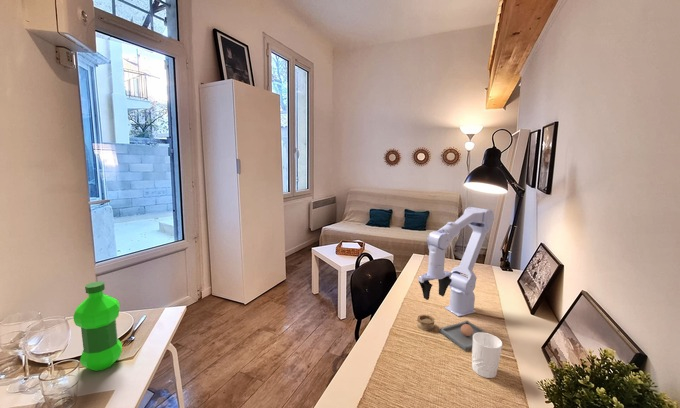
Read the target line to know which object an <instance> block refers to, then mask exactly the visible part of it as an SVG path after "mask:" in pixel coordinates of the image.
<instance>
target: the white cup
mask: <svg viewBox="0 0 680 408" xmlns="http://www.w3.org/2000/svg"><path fill="white" fill-rule="evenodd" d="M502 349H503V342H502V340H501V338H499V337H498V336H496V335H494V334H492V333H489V332H487V333H484V332H478V333H475V334H474V335H473V343H472V349H471V369H472V370H473V372H474V373H476V374H477V375H479V376H480V377H482V378H487V379H494V378H496V377H497V373H498V369H499V368H498V367H499V365H500V360H501V355H502Z"/></svg>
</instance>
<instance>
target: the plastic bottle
mask: <svg viewBox="0 0 680 408" xmlns="http://www.w3.org/2000/svg"><path fill="white" fill-rule="evenodd" d="M105 285H106V284H105V282H104V281H102V280H101V281H94V282H90V283H88V284H86V285H85V289H84V290H85V293H86V294H87V295H88V297H86V299H84V300H83V301H82V302H81V303H80V304H79V305H77V307H76V309H75V311H74V314H73V323H74V324H75V326H77V327H79V328H80V330H81V331H80V332H81V339H82V347H83V350H82V352H81V355H80V358H79V362H80V365H82V366H83V367H84V368H86V369H88V370H91V371H95V372H96V371H97V372H99V371H104V370H106V369H108V368H110V367H111V366H112V365H114V363H115V362H116V361H117V360H118V359H120V357H121V355H122V352H123V351H122V350H123V343H122V342H121V340H120V339H119V338H118V330H117V328H118V327H117V319H118V318H119V314H120V308H121V305H120V304H121V303H120V302H119V300H118V299H116V298H115V297H112V296H109V295H108V294H104V290H105V289H106V287H105Z"/></svg>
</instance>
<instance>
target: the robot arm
mask: <svg viewBox="0 0 680 408" xmlns="http://www.w3.org/2000/svg"><path fill="white" fill-rule="evenodd" d="M494 220H495V215H494V212H493V210H492V209H486V208H481V207H480V208H479V207H474V206H468V207H467V208H465V209H464V212H463V214H462V215H460V217H459V218H457V219H456V220H455V221H448V222H447V223H446V224H444V226H443V225H442V227H440V228H439V229H438V230H437V231H436V230H433V231H431V232H429V234H428V235H427V238H426V243H427V246H428V247H427V248H428V249H427V250H429V252H428V266H427V271H426V273H424V274H422V275H419V276H418V283H419V286H420V288H421V291H422V295H423V299H424V300H426V301H428V300H429V299H430V296H431V295H430V294H431V289H432V287H433V284H432V283H431V282H430V281H433V280H437V281H438V282H437V283H438V295H439V296H441V297H445V295H446V292H447V289H448V287H449V289H450V294H449V296H450V297H449V305H446V306H444V308H445V310H447V311H449V312H451V313H452V314H454V315H456V316H457V317H463V316H466V315H470V314H473V313H476V310H475V302H476V301H475V300H476V295H475V293H474V290H475V288H476V283H477V282H476V281H477V279H478V277H477V276H476V273H474V270H473V269H474V267H475V264H476V263H477V259H478V257H479V254H480V252H481V250H482V247H483V243H485V238H486V236H487V233H488V232H490V230H491V228H492V226H493V223H494ZM466 226H469V227H470V229H472V233H471V234H470V237H469V240H468V243H467V245H466V248H465V250H464V253H463V255H462V258H461V261H460V264H459V265H458V266H455V267H452V269H451V271H449V270H445V260H446V259H445V258H446V250H447V248H448V247H449V246H450V244H451V242H452V240H454V239H455V238H456V237H457V236H458V235H460V233H461V230H462V229H464V228H465V227H466Z"/></svg>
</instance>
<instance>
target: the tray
mask: <svg viewBox="0 0 680 408" xmlns="http://www.w3.org/2000/svg"><path fill="white" fill-rule="evenodd" d="M464 324H468V325H470V326H471V327H472V329H473V333H472V335H470V336H465V335H463V334H462V332H461V326H462V325H464ZM478 332H484V333H488V332H487V331H485V330H483V329H482V328H481V327H478V326H476V325H475V324H474V323H472V322H470V321H469V320H465V321H461V322H457V323H455V324H450V325H447V326H444V327H439V329H438V333H440V334H441V335H443V336H444V337H445V338H447V339H448V340H449V341H451V342H452V343H453V344H455V345H456V346H457V347H459V348H460V349H462V350H463V351H465V352H467V351H470V350H472V343H473V335H474V334H475V333H478Z"/></svg>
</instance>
